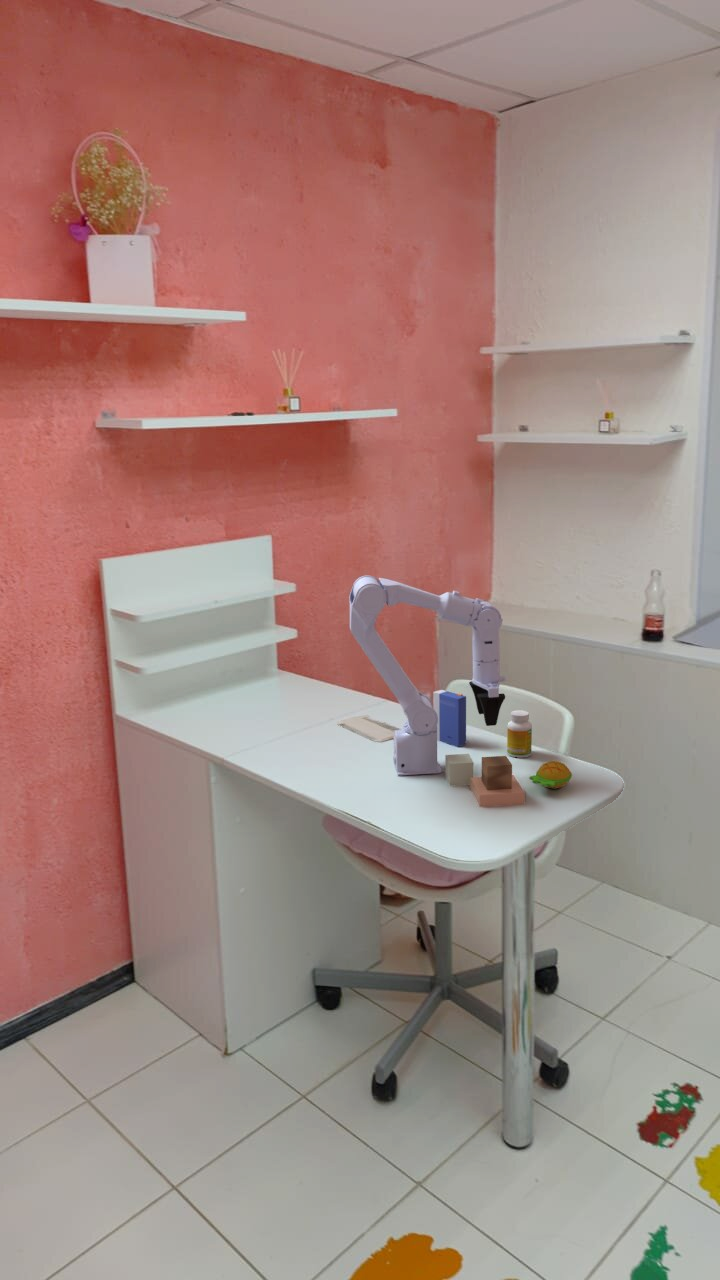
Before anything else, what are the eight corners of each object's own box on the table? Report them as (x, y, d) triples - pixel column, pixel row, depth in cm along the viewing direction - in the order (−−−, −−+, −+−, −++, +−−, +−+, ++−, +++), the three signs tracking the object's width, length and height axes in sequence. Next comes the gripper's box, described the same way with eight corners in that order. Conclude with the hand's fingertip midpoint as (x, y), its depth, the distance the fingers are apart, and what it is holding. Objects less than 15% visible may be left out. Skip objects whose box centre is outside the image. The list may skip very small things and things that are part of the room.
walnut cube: (487, 789, 191) (487, 766, 189) (481, 780, 196) (481, 757, 194) (511, 788, 191) (512, 764, 190) (505, 778, 196) (505, 755, 195)
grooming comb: (411, 734, 231) (411, 731, 230) (377, 745, 225) (377, 741, 225) (366, 716, 245) (365, 713, 245) (333, 725, 239) (333, 722, 239)
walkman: (466, 744, 223) (466, 694, 220) (458, 747, 221) (458, 697, 218) (440, 736, 228) (440, 687, 225) (433, 739, 227) (432, 690, 224)
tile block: (479, 809, 189) (479, 795, 189) (470, 790, 198) (470, 777, 197) (524, 806, 190) (524, 792, 189) (513, 788, 199) (513, 774, 198)
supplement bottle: (530, 759, 213) (531, 717, 210) (506, 757, 214) (506, 716, 211) (531, 750, 218) (532, 709, 216) (507, 749, 219) (508, 708, 217)
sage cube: (449, 786, 200) (449, 763, 198) (445, 777, 204) (445, 754, 203) (473, 785, 200) (473, 762, 199) (468, 775, 205) (468, 753, 204)
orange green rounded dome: (578, 785, 198) (579, 760, 197) (552, 800, 191) (552, 775, 190) (549, 776, 203) (550, 753, 202) (522, 791, 196) (523, 767, 194)
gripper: (512, 666, 198) (513, 729, 201) (497, 648, 212) (498, 707, 215) (478, 669, 197) (480, 731, 201) (465, 650, 211) (466, 709, 215)
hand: (487, 719), depth 208 cm, fingers open, 7 cm apart
